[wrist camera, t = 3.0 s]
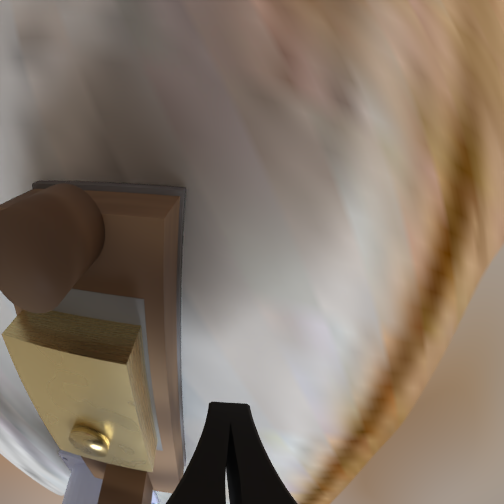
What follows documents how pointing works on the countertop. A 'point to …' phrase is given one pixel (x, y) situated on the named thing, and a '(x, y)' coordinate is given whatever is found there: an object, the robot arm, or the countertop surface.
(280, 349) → the countertop surface
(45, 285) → the body
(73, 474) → the robot arm
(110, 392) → the lever cap
